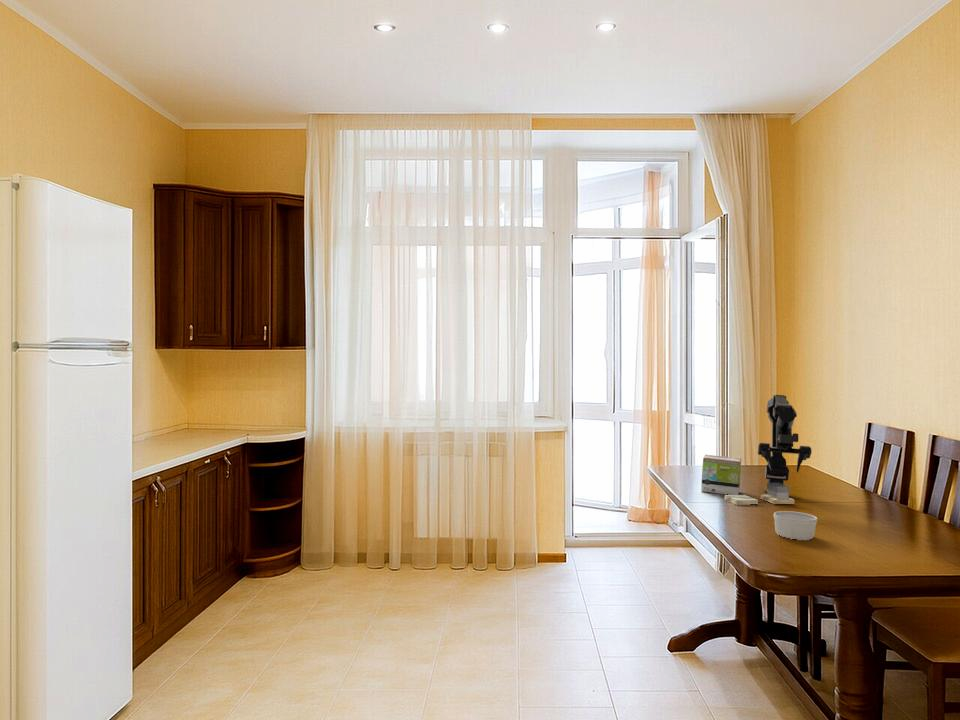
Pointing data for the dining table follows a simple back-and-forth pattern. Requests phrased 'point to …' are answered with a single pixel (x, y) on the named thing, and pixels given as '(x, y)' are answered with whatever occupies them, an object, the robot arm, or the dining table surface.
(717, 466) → the tea box
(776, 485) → the block
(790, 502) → the stand
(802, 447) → the robot arm
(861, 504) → the dining table surface
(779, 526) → the ramekin
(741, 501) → the stand
